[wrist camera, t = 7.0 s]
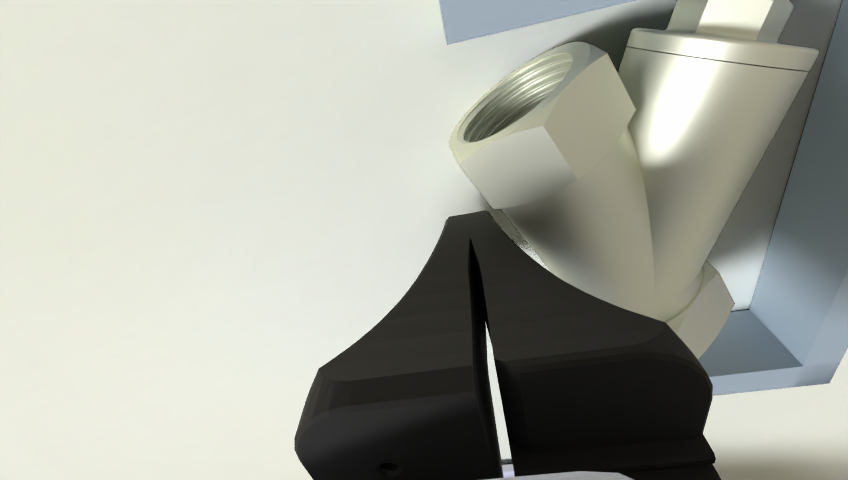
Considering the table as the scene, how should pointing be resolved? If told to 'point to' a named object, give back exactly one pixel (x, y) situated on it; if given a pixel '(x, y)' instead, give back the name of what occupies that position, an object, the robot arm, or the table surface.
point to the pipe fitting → (639, 154)
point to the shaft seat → (792, 235)
